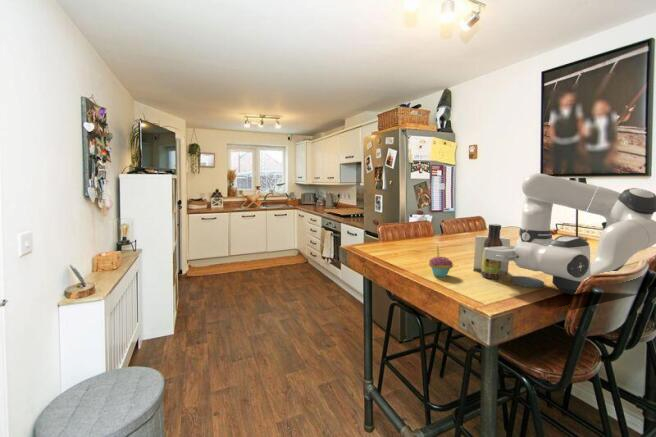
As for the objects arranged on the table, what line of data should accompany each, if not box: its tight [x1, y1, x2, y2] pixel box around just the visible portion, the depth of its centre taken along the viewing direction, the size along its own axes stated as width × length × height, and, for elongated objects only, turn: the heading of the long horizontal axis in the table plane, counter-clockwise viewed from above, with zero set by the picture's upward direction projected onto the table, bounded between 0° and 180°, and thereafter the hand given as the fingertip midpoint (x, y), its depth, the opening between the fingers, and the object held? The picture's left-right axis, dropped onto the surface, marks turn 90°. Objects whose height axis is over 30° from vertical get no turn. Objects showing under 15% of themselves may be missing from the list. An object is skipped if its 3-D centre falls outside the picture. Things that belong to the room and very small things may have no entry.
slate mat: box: [510, 275, 545, 289], centre depth 113 cm, size 10×10×1 cm
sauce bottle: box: [481, 223, 502, 280], centre depth 119 cm, size 6×6×20 cm
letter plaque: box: [473, 235, 511, 275], centre depth 127 cm, size 12×4×14 cm, turn 64°
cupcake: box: [428, 244, 454, 278], centre depth 122 cm, size 9×8×12 cm
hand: (492, 248), depth 119 cm, fingers closed on sauce bottle, 6 cm apart
